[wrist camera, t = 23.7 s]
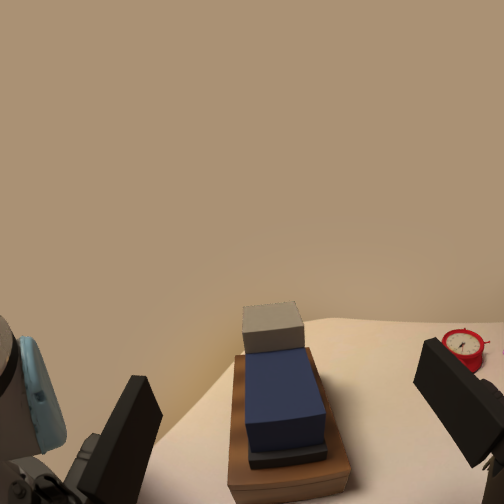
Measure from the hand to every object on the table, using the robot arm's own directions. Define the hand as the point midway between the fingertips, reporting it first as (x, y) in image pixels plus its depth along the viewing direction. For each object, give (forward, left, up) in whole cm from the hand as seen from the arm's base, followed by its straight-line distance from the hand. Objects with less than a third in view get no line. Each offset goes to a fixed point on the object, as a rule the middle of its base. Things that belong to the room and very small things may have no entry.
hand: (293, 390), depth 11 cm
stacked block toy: (+5, +15, -17) cm, 23 cm away
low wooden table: (+5, +15, -23) cm, 28 cm away
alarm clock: (+38, +10, -24) cm, 46 cm away
